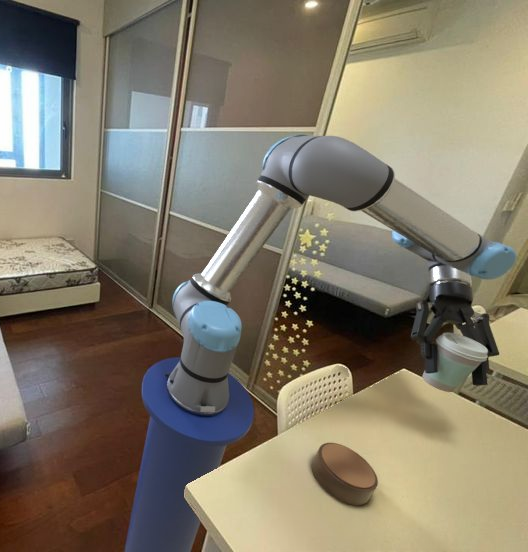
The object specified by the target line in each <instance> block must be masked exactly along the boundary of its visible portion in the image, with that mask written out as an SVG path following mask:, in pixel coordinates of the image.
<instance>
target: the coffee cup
mask: <svg viewBox="0 0 528 552" xmlns="http://www.w3.org/2000/svg"><path fill="white" fill-rule="evenodd" d="M435 344H437V364H438V372H437V373H430V374H428V373H425V370H424V371H423V373H422V376H421V377H422V379H423V381H424V382H425V383H427V384H428V385H429V386H430V387H432V388H435V389H437V390H439V391H442V392H446V393H453V392H455V390H456V389H457V388H459V386H460V385H461V384H462V383H463V382H464V381H465V380H467V378H468V377H469V376H470V375H472V372H473V371H474V370H475V369H476V368H477V367H478V366H479V365H480V364H481V362H482V361H486V360H487V357H488V356H487V353H488V350H487V348H486V347H485V346H483V345H482V344H480V343H478V342H476V341H474V340H472V339H470V338H467V337H465V336H463V334H458V333H455V332H443V333H442V334H441V335H439V336H437V338H435Z"/></svg>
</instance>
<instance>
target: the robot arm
mask: <svg viewBox="0 0 528 552" xmlns="http://www.w3.org/2000/svg"><path fill="white" fill-rule="evenodd" d="M255 183H256V188H257V191H256V193H255V194H254V196H253V198H252V199H251V200H250V202H249V203H248V204H247V206H246V208H245V209H244V211H243V212H242V213H241V215H240V216H239V218H238V220H237V221H236V222H235V224H233V227H232V228H231V230H230V231H229V233H228V234H227V236H226V237H225V239H224V240H223V242H221V244H220V246H219V247H218V249H217V250H216V252H215V253H214V255H213V256H212V257H211V259H210V261H209V262H208V263H207V265H206V266H205V268H204V269H203V270H202V272H199V273H194V274H193V275H192V276H191V278H190V279H189V280H188V281H183V282H182V283H181V284H179V286H177V288H176V289H175V291H174V293H173V295H172V311H173V314H174V316H175V319H176V320H177V323H178V326H179V329H180V332H181V334H182V338H183V345H182V349H181V354H180V357H181V358H180V361H179V363H178V364H177V366H176V367H175V369H174V370H173V371H172V373H165V376H169V379H168V383H167V392H168V395H169V397H170V398H171V400H172V401H173V402H174V403H175V404H176V405H177V406H178V407H179V408H181V409H182V410H184V411H185V412H188V413H190V414H192V415H196V416H200V417H213V416H217V415H219V414H221V413H222V412H223V411H224V410H225V409H226V407H227V404H228V401H229V386H228V373H229V374H230V370H231V367H232V363H233V361H234V357H235V354H236V351H237V348H238V345H239V343H240V340H241V335H242V329H243V328H242V320H241V318H240V316H239V315H238V314H237V312H236V311H235V310H234V309H232V308H231V307H228V305H229V304H230V302H231V301H232V293H231V291H232V289H233V288H234V287H235V285H236V284H237V283H238V282H239V280H240V279H241V277H242V276H243V275H244V273H245V272H246V271H247V269H248V268H249V266H250V265H251V263H253V261H254V259H256V257H257V256H258V254H259V253H260V251H261V250H262V248H264V246H265V245H266V243H267V242H268V241H269V239H271V237H272V235H273V233H275V232H276V230H277V228H278V227H279V226H280V224H281V223H282V221H283V220H284V219H285V218H286V216H287V215H288V213H289V212H290V211H291V210H293V209H298V208H301V207H302V206H303V205H304V204H305V202H306V201H307V200H308V198H309V197H314V198H317V199H321V200H325V201H328V202H331V203H334V204H337V205H339V206H341V207H343V208H344V209H346V210H348V211H350V212H363V213H364V214H366V215H367V216H368V217H370V218H372V219H374V220H376V221H377V222H379V223H381V224H382V225H384V226H386V227H387V228H389V229H391V230H392V232H391V239H392V240H393V242H394V243H395V244H398V245H399V247H400V248H403V249H406V250H407V251H409V252H411V253H413V254H415V255H417V256H419V257H420V258H421V259H423V260H426V261H427V266H428V267H427V268H428V287H429V288H428V298H429V302H428V301H427V300H425V299H424V300H421V301H419V302H416V303H415V305H414V306H415V310H416V313H415V316H414V320H413V325H412V329H411V333H410V339H411V340H412V341H416V344H417V345H419V346H420V356H421V357H422V358H424V371H425V373H428V374H430V373H437V372H438V364H437V344H436V343H433V341H434V340H435V339H436V336H437V335H438V333H439V332H440V330H441V329H442V327H443V325H444V324H451V325H455V328H456V329H457V330H459V331H460V333H461V335H462V336H465V337H467V338H470V339H472V340H474V341H476V342H478V343H480V344H482V345H483V346H485V347H486V348H487V350H488V353H487V356H488V357H487V360H486V361H482V362H481V364H480V365H479V366H478V367H477V368H476V369H475V370H474V371H473V372H472V373H471V380H472V386H476V387H479V386H488V385H489V384H488V375H487V372H489V371H490V362H489V361H490V360H489V358H491V357H496V356H499V355H500V351H499V349H498V345H497V342H496V340H495V336H494V334H493V331H492V328H491V325H490V314H489V313H487V312H484V313H479V312H476V311H475V310H474V309H473V306H472V305H473V302H474V294H473V287H472V286H473V281H472V277H476V278H479V279H482V280H487V281H488V280H490V281H491V280H496V279H499V278H501V277H503V276H504V275H507V273H508V272H509V271H510V270H511V269H512V268H513V267H514V265H515V264H516V261H517V252H516V250H515V249H514V248H513V247H511V246H508V245H506V244H503V243H502V242H500V241H499V242H498V241H492V240H490V239H488V238H485V236H483V235H481V234H479V233H478V232H476V231H475V230H473V229H471V228H470V227H468V226H467V225H465V223H463V222H461V221H460V220H458V219H457V218H455V217H453V215H451V214H449V213H448V212H446V211H445V210H443V209H442V208H440V207H439V206H437V205H436V204H434V203H433V202H431V201H430V200H429V199H427V198H425V197H423V196H422V195H421V194H419V193H418V192H417V191H415V190H414V189H412V188H411V187H409V186H408V185H406V184H404V183H403V182H401V181H400V180H398V179H397V178H396V173H395V170H394V168H393V167H391V166H390V165H388V164H387V163H386V162H384V161H383V160H381V159H379V158H378V157H377V156H375V155H374V154H372V153H371V152H369V151H368V150H366V149H364V148H363V147H361V146H359V144H356V143H355V142H353V141H350V140H349V139H346V138H344V137H341V136H337V135H307V134H295V135H291V136H287V137H285V138H282V139H280V140H278V141H277V142H275V143H274V144H273V145H272V146H271V147H270V148H269V149H268V150H267V152H266V154H265V155H264V158H263V161H262V172H261V174H260V175H259V177H258V179H257V180H256V182H255ZM430 310H431V312H432V313H433V314H434V315H433V316H432V318H431V320H430V323H429V324H428V319H429V314H430ZM427 324H428V326H427Z"/></svg>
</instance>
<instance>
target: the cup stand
mask: <svg viewBox="0 0 528 552" xmlns="http://www.w3.org/2000/svg"><path fill="white" fill-rule="evenodd" d="M311 470H312V473H313V476H314V477H315V479H316V481H317V482H318V483H319V485H320V486H321V487H322V488H323V489H324V490H325V491H326V492H327V493H329V494H330V495H331V496H333V497H334V498H335V499H337V500H339V501H341V502H343V503H346V504H347V505H352V506H362V505H365V504H366V503H367V502H368V501H369V500H370V498H371V497H372V495H373V493H374V492H375V491H376V489H377V487H378V484H379V482H378V481H379V480H378V476H377V473H376V472H375V470H374V468H373V467H372V466H371V464H369V462H368V461H367V460H366V459H365V458H364V457H363V456H362V455H360V454H359V453H357V452H356V451H355V450H353V449H351V448H350V447H348V446H345V445H343V444H341V443H337V442H325V443H322V444H321V445H320V446H319V448H318V450H317V452H316V454H315V455H314V458H313V460H312V462H311Z"/></svg>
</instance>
